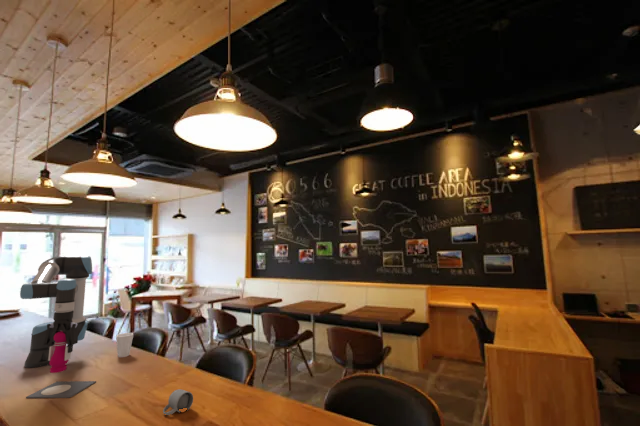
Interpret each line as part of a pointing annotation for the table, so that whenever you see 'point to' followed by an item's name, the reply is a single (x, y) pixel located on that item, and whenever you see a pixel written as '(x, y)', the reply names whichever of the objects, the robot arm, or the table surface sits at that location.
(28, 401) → the table surface
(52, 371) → the pepper mill
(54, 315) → the robot arm
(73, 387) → the mat
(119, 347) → the foam cup
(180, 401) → the ceramic mug
